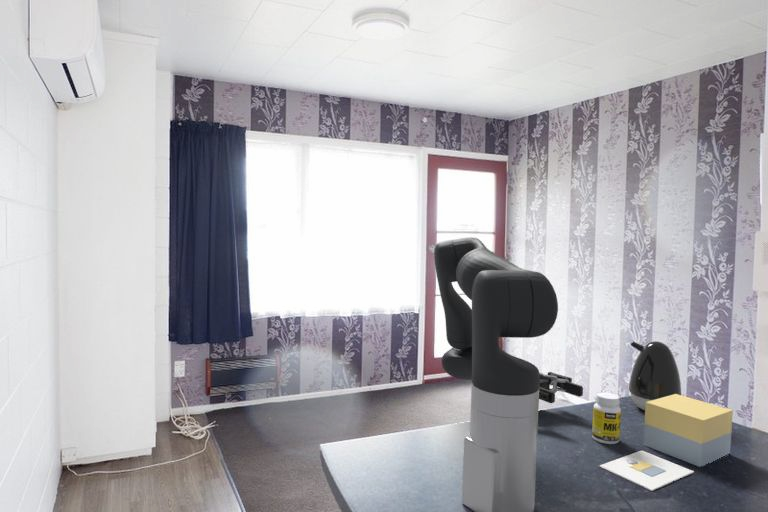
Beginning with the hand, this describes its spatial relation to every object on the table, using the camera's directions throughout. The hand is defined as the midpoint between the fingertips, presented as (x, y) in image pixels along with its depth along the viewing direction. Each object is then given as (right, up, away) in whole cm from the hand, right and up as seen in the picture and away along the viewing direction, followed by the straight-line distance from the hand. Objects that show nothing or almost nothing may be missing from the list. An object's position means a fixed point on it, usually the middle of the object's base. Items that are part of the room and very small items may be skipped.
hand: (568, 394), depth 104 cm
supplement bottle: (+4, -7, -7) cm, 11 cm away
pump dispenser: (+22, -6, +10) cm, 25 cm away
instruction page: (+6, -7, -19) cm, 21 cm away
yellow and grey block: (+17, -7, -11) cm, 22 cm away
